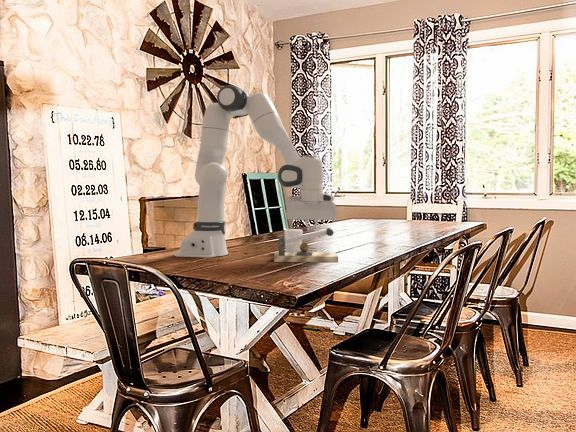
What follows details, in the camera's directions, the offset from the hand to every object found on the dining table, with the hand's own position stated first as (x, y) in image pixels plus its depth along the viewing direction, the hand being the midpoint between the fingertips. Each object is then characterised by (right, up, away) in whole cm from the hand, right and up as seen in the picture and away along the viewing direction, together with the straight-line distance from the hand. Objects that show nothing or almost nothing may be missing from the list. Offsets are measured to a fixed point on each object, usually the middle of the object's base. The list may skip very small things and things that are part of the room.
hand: (311, 231), depth 220 cm
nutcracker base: (-2, -11, +1) cm, 12 cm away
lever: (-2, -4, 0) cm, 4 cm away
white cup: (-7, -10, +20) cm, 23 cm away
